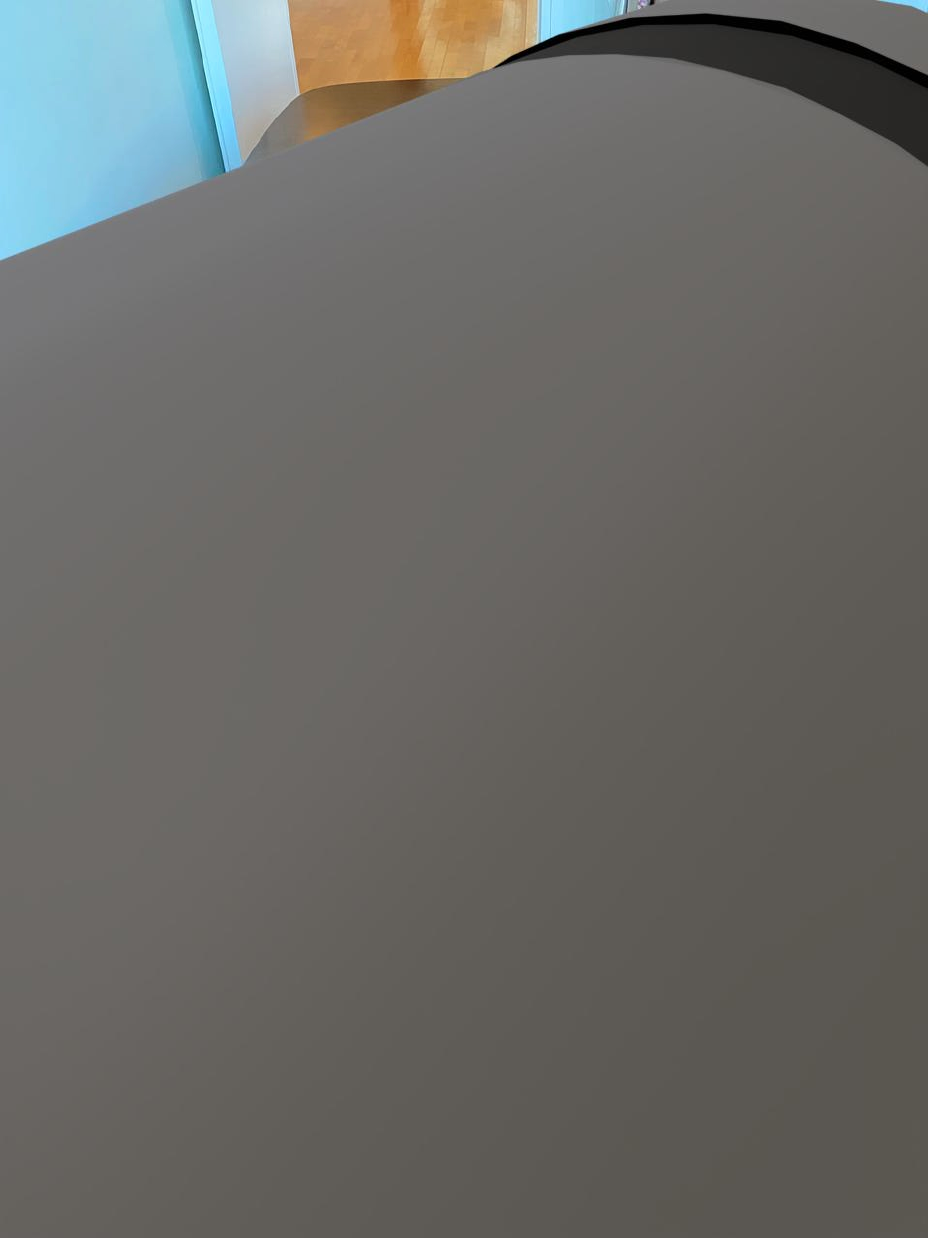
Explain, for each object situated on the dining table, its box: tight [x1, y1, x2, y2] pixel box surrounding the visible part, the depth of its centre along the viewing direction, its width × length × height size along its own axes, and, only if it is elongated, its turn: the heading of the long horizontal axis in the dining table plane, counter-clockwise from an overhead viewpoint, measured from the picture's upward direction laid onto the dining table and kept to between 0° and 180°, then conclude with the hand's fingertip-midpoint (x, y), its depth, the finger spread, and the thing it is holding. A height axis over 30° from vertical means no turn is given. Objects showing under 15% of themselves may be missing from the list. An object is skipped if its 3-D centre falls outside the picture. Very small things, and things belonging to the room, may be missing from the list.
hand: (546, 696), depth 56 cm, fingers closed
